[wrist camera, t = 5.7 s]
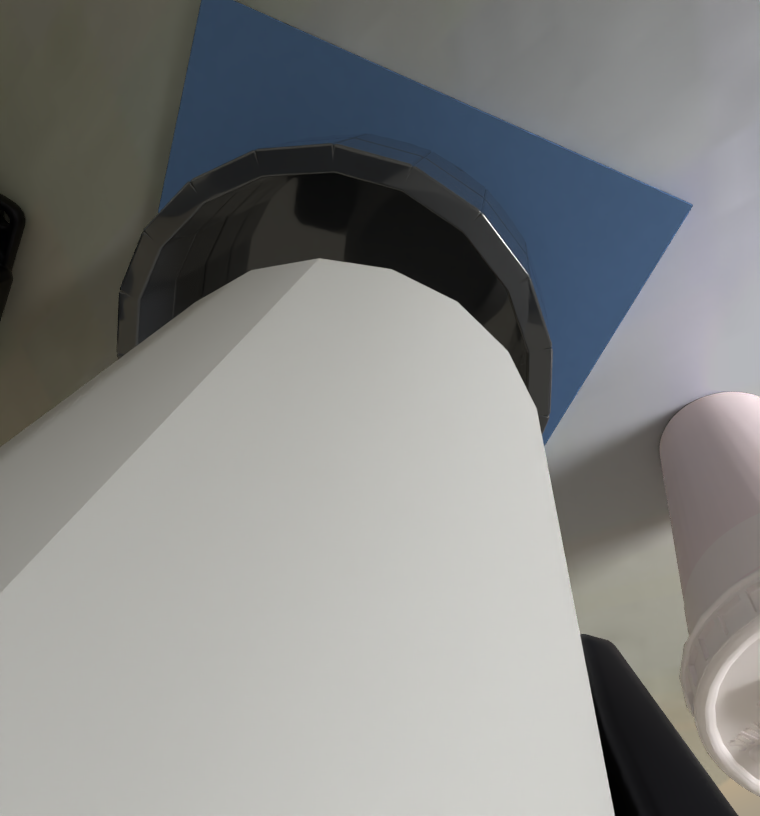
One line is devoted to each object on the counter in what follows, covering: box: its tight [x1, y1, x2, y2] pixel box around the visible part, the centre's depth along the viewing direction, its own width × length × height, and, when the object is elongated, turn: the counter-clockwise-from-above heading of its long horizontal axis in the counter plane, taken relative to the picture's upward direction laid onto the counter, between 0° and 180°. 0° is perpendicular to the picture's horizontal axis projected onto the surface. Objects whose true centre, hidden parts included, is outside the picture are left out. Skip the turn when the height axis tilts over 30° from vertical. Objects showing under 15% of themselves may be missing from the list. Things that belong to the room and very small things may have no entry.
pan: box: [117, 133, 553, 435], centre depth 18 cm, size 11×11×4 cm
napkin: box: [158, 0, 693, 446], centre depth 20 cm, size 14×14×1 cm
